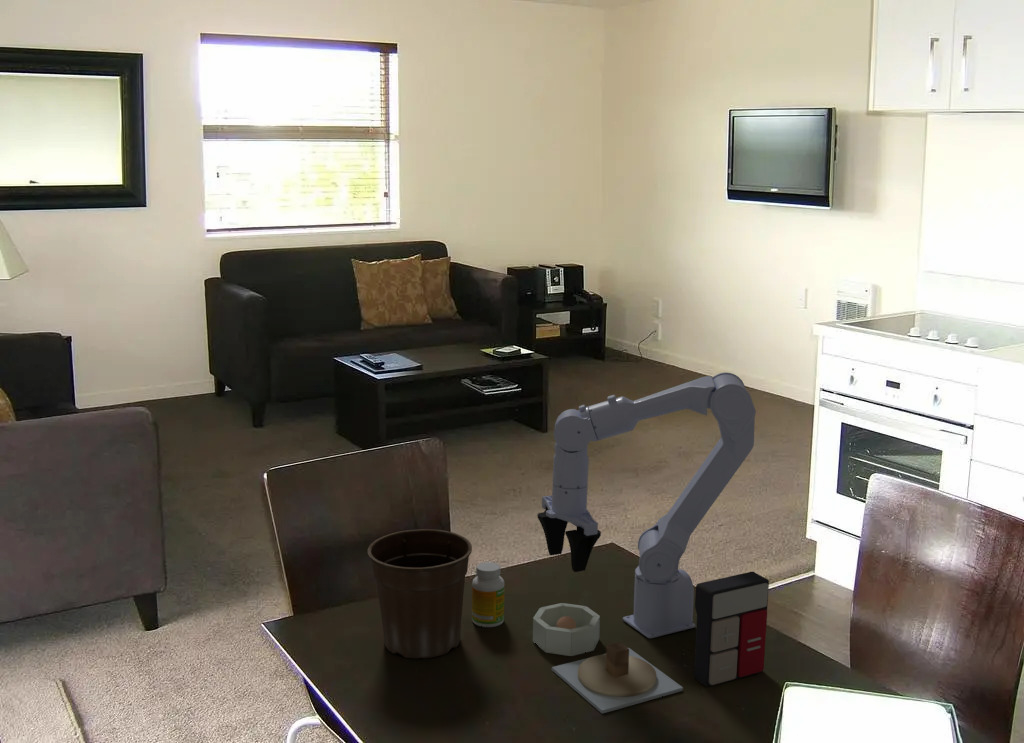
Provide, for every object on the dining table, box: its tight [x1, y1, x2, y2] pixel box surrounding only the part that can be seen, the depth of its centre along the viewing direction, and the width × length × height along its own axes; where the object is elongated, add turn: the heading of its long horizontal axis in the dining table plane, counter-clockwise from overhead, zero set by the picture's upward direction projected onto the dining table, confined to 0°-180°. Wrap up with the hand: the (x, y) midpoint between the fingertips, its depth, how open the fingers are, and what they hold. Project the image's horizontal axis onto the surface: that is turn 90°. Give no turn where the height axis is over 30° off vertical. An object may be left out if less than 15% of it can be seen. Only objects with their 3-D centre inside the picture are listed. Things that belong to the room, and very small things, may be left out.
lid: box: [578, 642, 656, 697], centre depth 154 cm, size 12×12×5 cm
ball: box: [556, 616, 576, 629], centre depth 167 cm, size 3×3×3 cm
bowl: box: [532, 602, 601, 657], centre depth 167 cm, size 10×10×4 cm
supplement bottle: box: [471, 561, 506, 628], centre depth 173 cm, size 5×5×10 cm
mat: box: [551, 647, 684, 715], centre depth 155 cm, size 14×14×1 cm
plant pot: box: [367, 528, 473, 659], centre depth 164 cm, size 16×16×16 cm
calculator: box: [693, 571, 770, 688], centre depth 155 cm, size 11×4×15 cm, turn 117°
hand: (566, 562), depth 172 cm, fingers open, 7 cm apart
